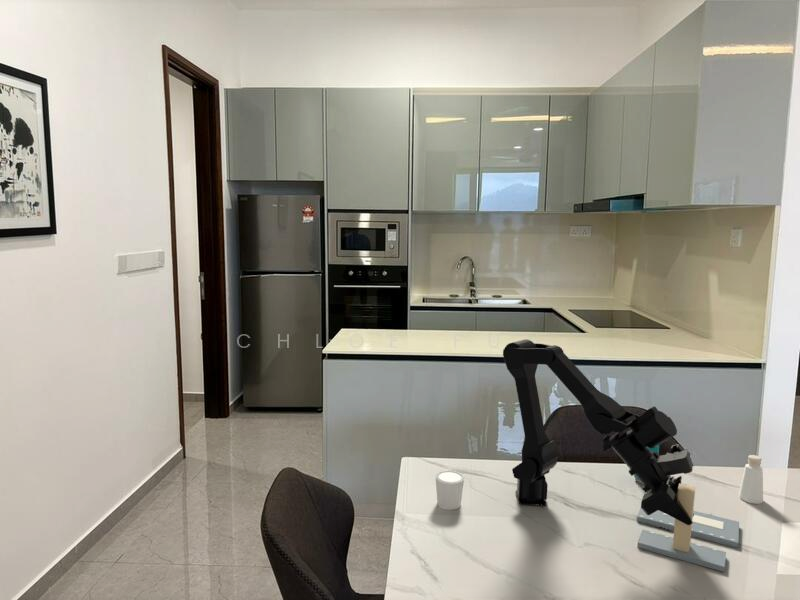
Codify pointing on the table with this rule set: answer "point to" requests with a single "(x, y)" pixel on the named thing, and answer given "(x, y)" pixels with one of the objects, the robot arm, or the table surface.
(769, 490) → the table surface
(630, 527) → the table surface
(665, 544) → the grey slab with post
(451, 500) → the shot glass
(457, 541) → the table surface
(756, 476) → the pepper shaker
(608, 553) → the table surface
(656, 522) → the board
